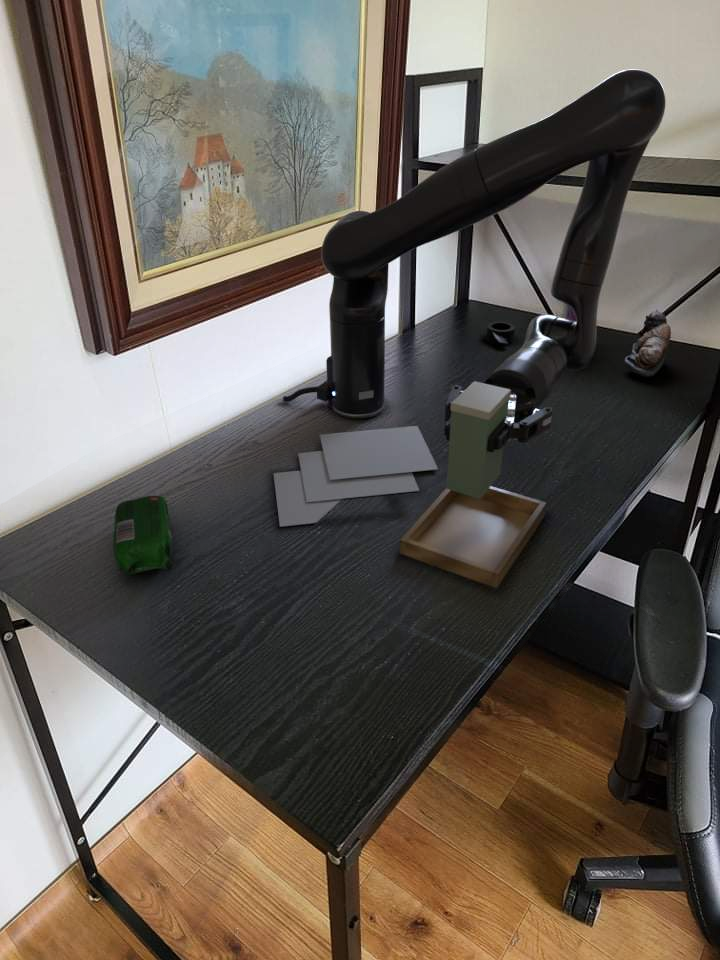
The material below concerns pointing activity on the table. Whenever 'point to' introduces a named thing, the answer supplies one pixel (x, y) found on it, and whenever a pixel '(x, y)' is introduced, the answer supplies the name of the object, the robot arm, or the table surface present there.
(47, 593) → the table surface
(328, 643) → the table surface
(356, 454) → the paper stack
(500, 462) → the green lidded canister
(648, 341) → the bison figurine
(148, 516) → the snack package
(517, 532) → the desk tray
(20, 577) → the table surface
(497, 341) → the duct tape
